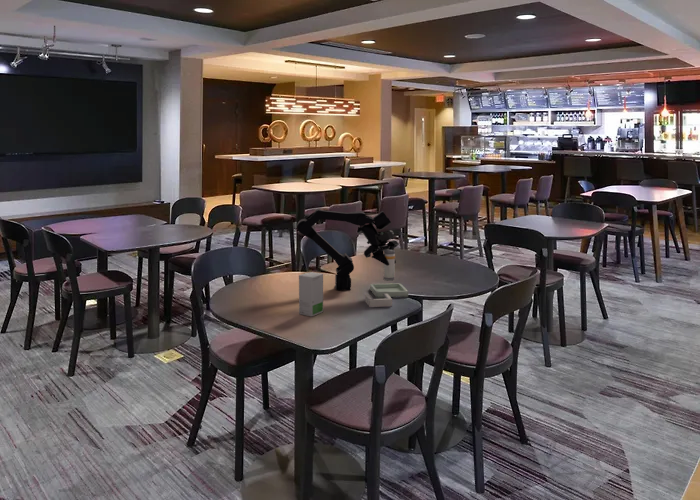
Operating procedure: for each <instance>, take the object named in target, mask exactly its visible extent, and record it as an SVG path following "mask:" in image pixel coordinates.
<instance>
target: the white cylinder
mask: <svg viewBox="0 0 700 500" xmlns="http://www.w3.org/2000/svg"><path fill="white" fill-rule="evenodd" d="M383 254H384V255H385V257H386V259H387V260H388V262H389V265H388V266H387V265H385V264H384V263H383V277H382V278H383V280H384V281H386V282H388V281H389V282H392V281H395V267H396V265H395V264H396V263H395V260H396V250H395V249H394V250H392V249H386V250H384V251H383Z"/></svg>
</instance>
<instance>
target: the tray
mask: <svg viewBox="0 0 700 500" xmlns="http://www.w3.org/2000/svg"><path fill="white" fill-rule="evenodd" d="M369 290H370V292H371V291H372V292H373V293H372V292H371V293H372V294H373V296H374V297H375V299H384V298H385V297H384V295H383V294H388V295H389V296H390V297H393V298H397V297H396V296H400V297H399V298H408V297H409V290H407V288H406V287H405V286H404V285H403V284H402V283H401V282H398V283H397V282H393V283H370V284H369Z"/></svg>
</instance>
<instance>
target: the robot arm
mask: <svg viewBox="0 0 700 500" xmlns="http://www.w3.org/2000/svg"><path fill="white" fill-rule="evenodd" d="M320 220H327V221H328V220H329V221H336V222H337V221H339V222H347V223H350V224H352V225H355V226H359V227H357V232H356V233H357V234H358V235H361V234H363V236H364V237H365V239H366V240H367V242H366V243H367V245H369V246H368V247H366V249H364V251H363V255H364V257H365V259H367V258H372V259H374V260H376V261H378V262H380V263H382V264H383V265H384V264H385V265H387V266H388V265H389V262H388V260H387V259H386V257H385V255H384V250H386V249H392V250H395V249H396V248H397V247H398V245H399V243H398V241H397V240H396V239H395V236H396V235H395V232H394V231H393V230H391V229H390V230H387V231H386V232H385V233H381V232H380V233H379V231H377V230H380V231H382V230H384V229H385V228H387V227H388V226H389V225H391V224H392V221H391V220H390V219H389V217H388V216H387V215H386V214H385V212H384V211H382V210H381V211H380V212H378V214H376V215H375V216H373V217H372V216H369V215H367V214H366V213H365V212H364V211H361V210H360V211H359V210H358V211H357V210H356V211H350V212H345V211H344V212H343V211H334V210H324V209H320V208H318V209H316V210H315V211H313V212H312V213H310V214H309V215H308V216H306V217H305V218H301V219H300V220H299V221H298V222H297V224H296V225H297V228H296V229H297V231H298V232H299V233H300V234H301V235H303V236H305V237H307V238H309V239H311V240H312V241H313V242H314V243H315V244H316V245H317V246H318V247H319V248H320V249H322V251H323V252H325V253H326V254H327V255H328V256H329V257H330V258H332V260H333V261H334V262H335V263H336V264H337V267H336V268H335V272H336V274H334V276H335V277H334V278H335V279H334V281H335V282H334V284H335V285H334V288H335V290H336V291H350V290H351V289H352V278H351V275H350V274H351V273H352V272H353V271H354V269H355V265H354V263H353V258H352V257H350V256H349V255H348V254H347V253H346V252H344V253H343V254H342V253H340V252H339V251H338V250H337V249H336V248H334V246H333V245H331V244H330V243H329V242H328V241H327V240H326V239H325V238H324V237H323V236H321V234H320V233H318V232H317V230H316V228H315V227H314V225H315V224H317V222H319V221H320ZM394 239H395V240H394ZM389 240H391V241H389ZM396 261H397V260H396V259H395V264H396V263H397V262H396Z"/></svg>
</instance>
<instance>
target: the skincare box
mask: <svg viewBox="0 0 700 500" xmlns="http://www.w3.org/2000/svg"><path fill="white" fill-rule="evenodd" d="M298 308H299V309H298V314H299V315H301V316H305V317H307V316H308V317H314V316H316V315H319V314H321V313H323V312H324V273H321V272H320V273H319V272H312V271H310V272H306V273H302V274H299V275H298Z"/></svg>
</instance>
